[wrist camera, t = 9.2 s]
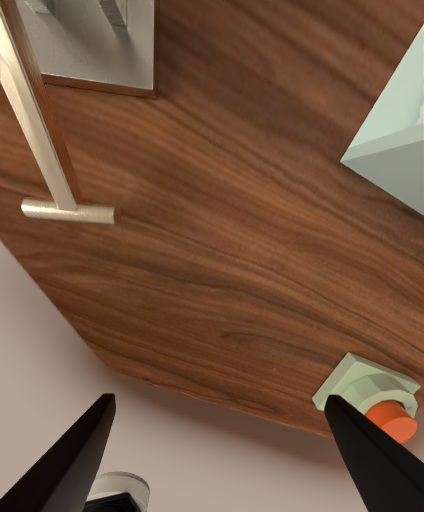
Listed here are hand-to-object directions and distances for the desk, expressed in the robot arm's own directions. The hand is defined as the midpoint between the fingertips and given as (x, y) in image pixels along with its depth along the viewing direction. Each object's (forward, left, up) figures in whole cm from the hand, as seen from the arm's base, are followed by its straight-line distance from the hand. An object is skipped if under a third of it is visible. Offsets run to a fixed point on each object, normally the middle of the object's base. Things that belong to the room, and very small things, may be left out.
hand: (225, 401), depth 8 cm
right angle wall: (+21, +9, -10) cm, 25 cm away
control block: (+14, -16, -10) cm, 23 cm away
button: (+14, -16, -7) cm, 22 cm away
